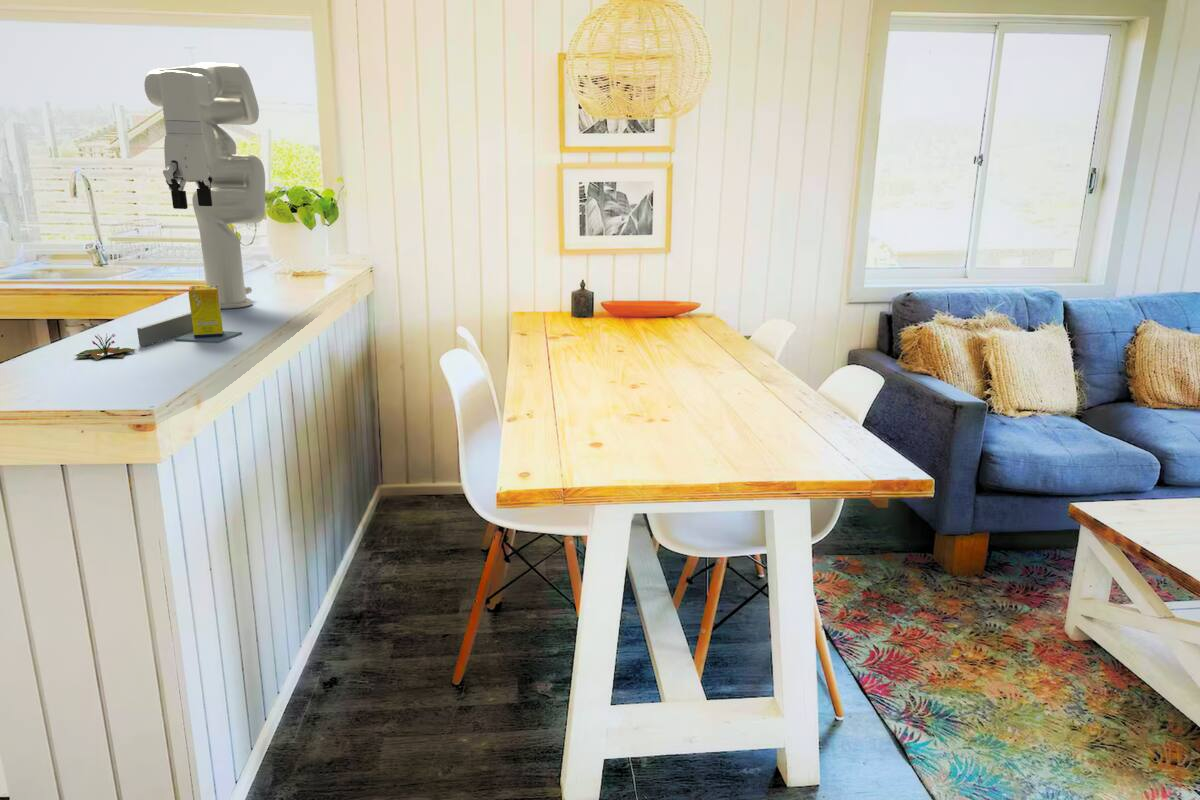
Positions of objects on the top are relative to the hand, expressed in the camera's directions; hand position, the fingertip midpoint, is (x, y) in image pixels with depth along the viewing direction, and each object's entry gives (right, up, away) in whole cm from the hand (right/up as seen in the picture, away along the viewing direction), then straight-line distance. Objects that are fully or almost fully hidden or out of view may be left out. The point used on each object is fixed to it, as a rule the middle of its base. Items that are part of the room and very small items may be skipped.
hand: (193, 207), depth 186 cm
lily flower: (-7, -36, -22) cm, 43 cm away
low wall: (-2, -30, -3) cm, 30 cm away
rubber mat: (+6, -31, -4) cm, 31 cm away
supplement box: (+6, -30, -4) cm, 31 cm away
